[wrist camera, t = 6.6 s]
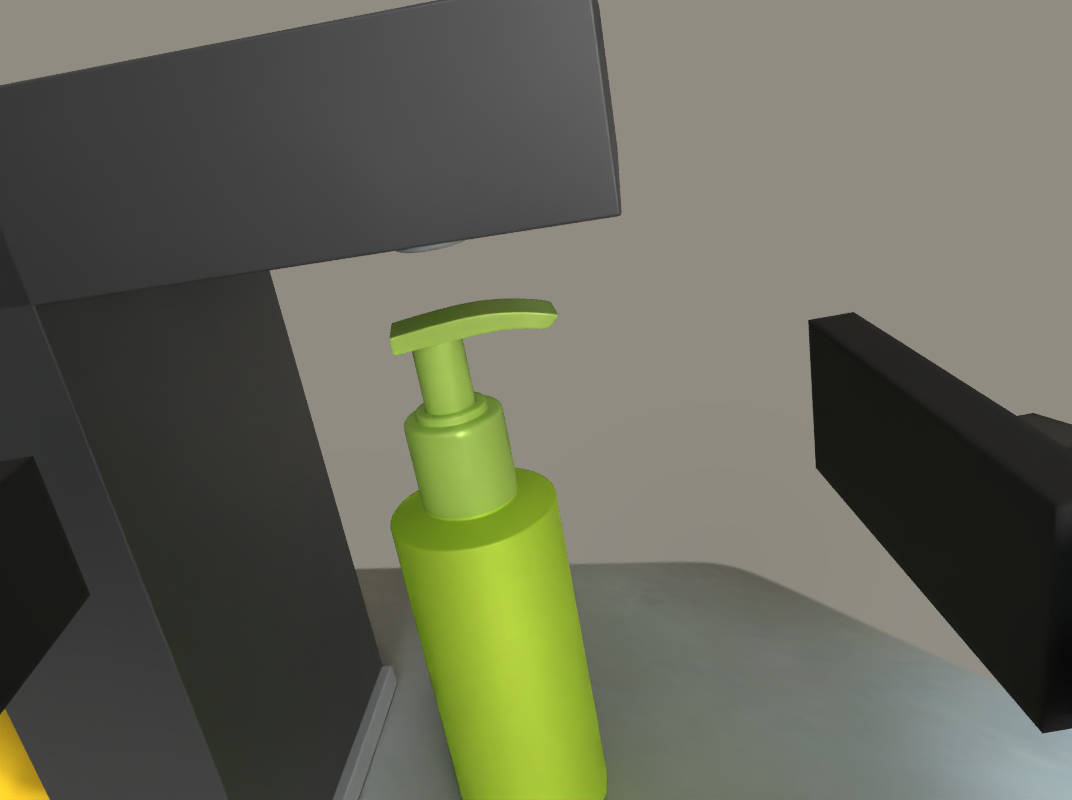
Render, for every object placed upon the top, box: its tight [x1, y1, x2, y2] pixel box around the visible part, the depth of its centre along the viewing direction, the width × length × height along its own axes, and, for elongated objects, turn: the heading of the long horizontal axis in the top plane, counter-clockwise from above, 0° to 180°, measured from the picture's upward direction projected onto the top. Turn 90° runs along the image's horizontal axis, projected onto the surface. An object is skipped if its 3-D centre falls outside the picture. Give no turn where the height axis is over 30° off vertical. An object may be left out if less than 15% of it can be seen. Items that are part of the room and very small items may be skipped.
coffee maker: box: [0, 0, 621, 800], centre depth 31 cm, size 22×14×28 cm, turn 85°
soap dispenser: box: [390, 299, 608, 800], centre depth 31 cm, size 6×7×20 cm
